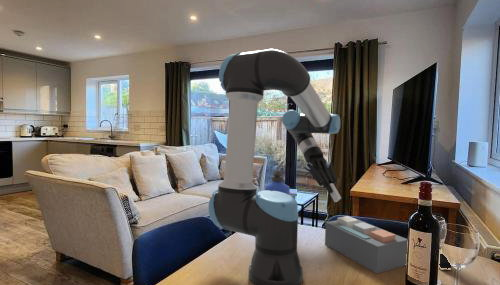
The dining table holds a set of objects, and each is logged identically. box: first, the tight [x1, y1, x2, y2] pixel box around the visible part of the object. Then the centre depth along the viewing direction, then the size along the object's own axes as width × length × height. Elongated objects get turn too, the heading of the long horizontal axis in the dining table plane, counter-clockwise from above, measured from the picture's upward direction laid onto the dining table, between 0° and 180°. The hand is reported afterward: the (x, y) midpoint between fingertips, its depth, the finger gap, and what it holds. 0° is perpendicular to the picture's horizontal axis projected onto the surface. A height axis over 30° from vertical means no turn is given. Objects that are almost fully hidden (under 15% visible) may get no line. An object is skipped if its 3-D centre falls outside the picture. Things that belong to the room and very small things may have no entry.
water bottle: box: [264, 170, 291, 195], centre depth 114 cm, size 9×9×25 cm
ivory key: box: [336, 215, 359, 229], centre depth 106 cm, size 5×5×3 cm
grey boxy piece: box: [324, 217, 407, 274], centre depth 99 cm, size 23×13×8 cm, turn 25°
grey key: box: [353, 221, 377, 237], centre depth 99 cm, size 5×5×3 cm
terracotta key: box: [370, 228, 395, 243], centre depth 92 cm, size 5×5×3 cm
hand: (337, 199), depth 111 cm, fingers closed
